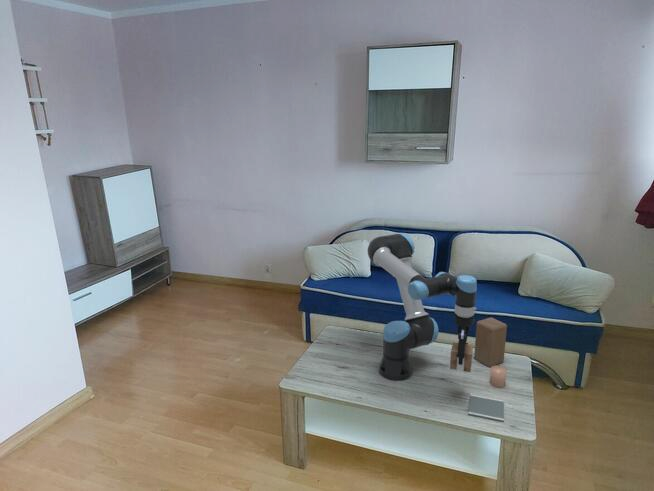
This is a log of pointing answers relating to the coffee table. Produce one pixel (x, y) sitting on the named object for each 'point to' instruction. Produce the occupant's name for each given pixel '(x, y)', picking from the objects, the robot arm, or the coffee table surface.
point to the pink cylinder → (498, 376)
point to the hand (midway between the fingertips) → (460, 364)
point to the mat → (486, 408)
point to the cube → (466, 360)
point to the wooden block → (490, 341)
